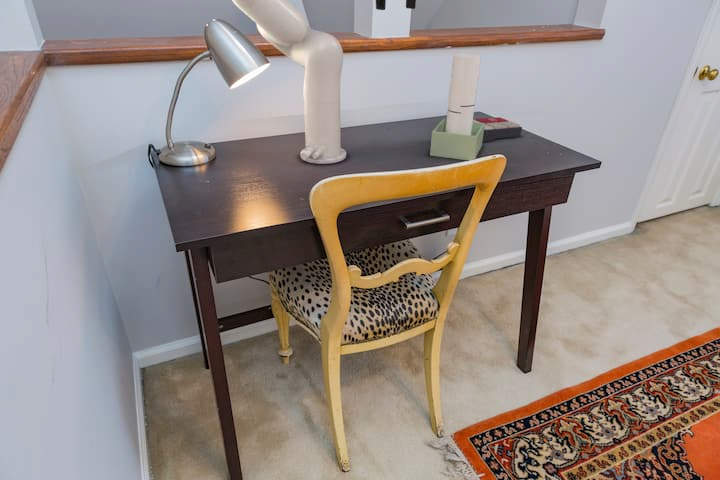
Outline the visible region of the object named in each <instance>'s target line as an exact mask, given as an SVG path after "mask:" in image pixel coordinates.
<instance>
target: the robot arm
mask: <svg viewBox="0 0 720 480" xmlns="http://www.w3.org/2000/svg"><path fill="white" fill-rule="evenodd" d="M386 1H387V0H375V9H376V10H379V11H385V10H386V7H387V6H386V3H387V2H386ZM231 2H232V3H233V4H234V5H235V6H236V7H237V8H238V9H239V10H240V11H241V12H242V13H244V14H245V15H246V16H247V17H248V18H249V19H251V20H252V22H254V24H255V25H256V29H257V31H258V32H259V34H260V35H261V36H262V38H263V39H265V40H266V41H267V42H268V43H269V44H271V45H272V46H273V47H274V48H276V49H277V50H278V51H279V52H281V53H282V54H284V55H285V56H286V57H287V58H289V59H290V60H291V61H292V62H294V63H295V64H297V66H300V67H302V68H304V75H303V76H304V77H303V85H302V95H303V96H302V98H303V112H304V113H303V118H304V119H303V120H304V141H305V142H304V143H305V148H303V149H302V150H301V151H300V152H299V156H300V157H299V158H300V159H301V160H302V161H304V162H307V163H309V164H316V165H328V164H336V163H339V162H343V161H344V160H346V158H347V151H346V150H345V149H344V148H342V146H341V145H342V144H341V143H342V139H341V138H342V137H341V135H342V134H341V133H342V132H341V131H342V130H341V128H342V127H341V79H342V78H341V77H342V71H343V65H344V64H343V63H344V50H343V48H342V45H341V43H340V41H339V40H338V39H337V37H335V36H334V35H332V34H330V33H328V32H324V31H321V30H316V29H313V28H312V27H311V26H309V25H308V22H307V19H306V17H305V14H304V13H303V12H302V10H301V9H300V8H299V7H298V6H296V5H295V4H294V3H292V1H290V0H231ZM416 2H417V0H405V8H406V9H410V10H415V9H416V4H417V3H416Z"/></svg>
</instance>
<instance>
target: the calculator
mask: <svg viewBox="0 0 720 480" xmlns="http://www.w3.org/2000/svg"><path fill="white" fill-rule="evenodd" d="M473 122H479V123H485V126H484V134H483V141H482V143H486V142H493V141H494V140H498V139H508V138H518V137H521V135H522V131H523V126H521V125H520V124H518V123H516V122H513V121H509V120H508V119H506V118H502V117H499V116H498V117H485V118H484V117H483V118H475V119H473Z"/></svg>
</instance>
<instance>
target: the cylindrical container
mask: <svg viewBox="0 0 720 480" xmlns="http://www.w3.org/2000/svg"><path fill="white" fill-rule="evenodd" d="M481 61H482V55H481V54H477V53H468V52H458V53H453V55H452V66H451V73H450V74H451V75H450V82H449V92H448V93H449V94H448V102H447V113H446V119H447V122H446V131H445V133H454V134H462V135H471V131H472V123H473V120H474V116H475V115H474V114H475V109H476V108H475V106H476V99H477V91H478V83H479V76H480V69H481Z"/></svg>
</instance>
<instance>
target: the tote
mask: <svg viewBox="0 0 720 480" xmlns="http://www.w3.org/2000/svg"><path fill="white" fill-rule="evenodd" d="M446 122H447V118H442V120H440V121H439V123H438V124H437V125H436V126H435V127H434V129H433V130H432V131H431V137H430V138H431V140H430V152H429V156H431V157H432V156H433V157H438V158H439V157H440V158H446V159H454V160H462V161H463V160H464V161H468V160H473V159H475V160H476V158H477V156H478V154H479V152H480V151H481V148H482V146H483V142H482V141H483V134H484V126H485V123H479V122H473V123H472V131H471V135H462V134H454V133H445V131H446Z"/></svg>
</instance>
